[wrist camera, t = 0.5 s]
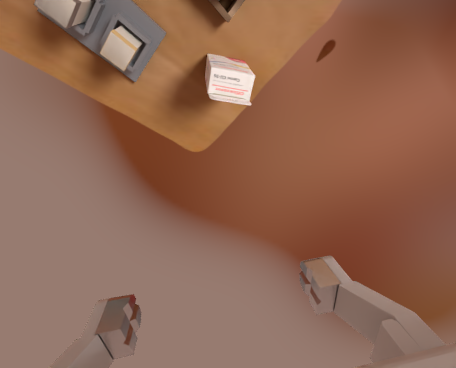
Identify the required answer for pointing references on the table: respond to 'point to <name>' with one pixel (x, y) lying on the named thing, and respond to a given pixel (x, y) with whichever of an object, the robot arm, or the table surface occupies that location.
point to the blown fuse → (66, 10)
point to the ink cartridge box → (228, 79)
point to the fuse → (121, 47)
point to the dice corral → (231, 10)
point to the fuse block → (110, 20)
